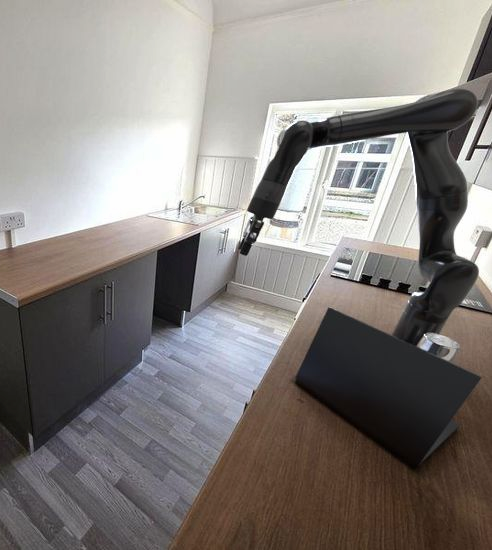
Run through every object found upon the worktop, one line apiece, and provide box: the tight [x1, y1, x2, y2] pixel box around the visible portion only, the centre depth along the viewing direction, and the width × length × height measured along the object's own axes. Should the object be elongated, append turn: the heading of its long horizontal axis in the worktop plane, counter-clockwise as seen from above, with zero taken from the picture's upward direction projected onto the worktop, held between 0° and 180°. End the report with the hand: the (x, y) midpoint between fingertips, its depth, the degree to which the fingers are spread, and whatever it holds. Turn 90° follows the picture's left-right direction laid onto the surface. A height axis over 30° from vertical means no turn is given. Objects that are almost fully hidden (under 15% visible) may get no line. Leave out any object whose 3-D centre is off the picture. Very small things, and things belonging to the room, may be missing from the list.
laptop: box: [294, 378, 461, 471], centre depth 73 cm, size 21×26×2 cm
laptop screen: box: [294, 306, 483, 465], centre depth 65 cm, size 21×26×1 cm
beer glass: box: [417, 333, 461, 363], centre depth 78 cm, size 7×7×15 cm
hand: (242, 252), depth 88 cm, fingers open, 8 cm apart
